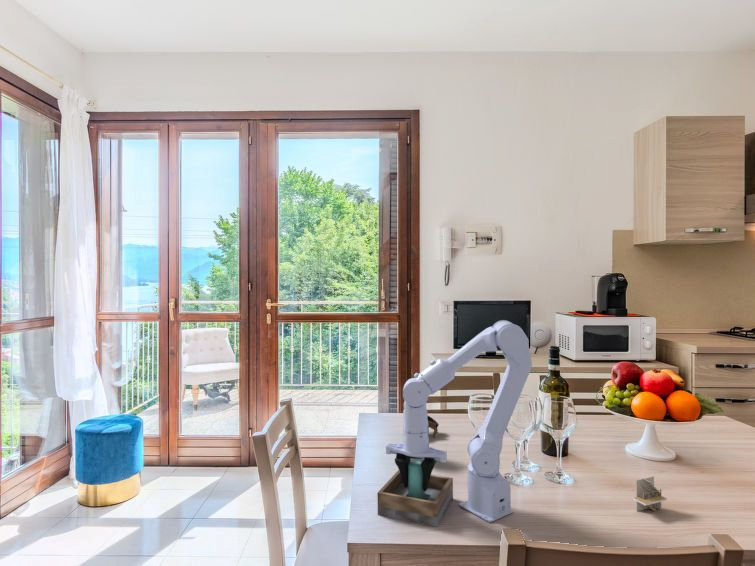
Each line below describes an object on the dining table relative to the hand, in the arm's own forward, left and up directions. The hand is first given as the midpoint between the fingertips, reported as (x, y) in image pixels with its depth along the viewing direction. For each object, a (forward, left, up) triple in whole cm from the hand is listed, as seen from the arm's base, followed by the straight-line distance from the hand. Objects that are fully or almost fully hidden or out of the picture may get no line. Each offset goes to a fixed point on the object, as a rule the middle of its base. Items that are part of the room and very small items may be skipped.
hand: (416, 487), depth 110 cm
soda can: (+22, -18, -5) cm, 29 cm away
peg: (0, 0, -3) cm, 3 cm away
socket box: (0, 0, -4) cm, 4 cm away
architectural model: (-33, -42, -5) cm, 54 cm away
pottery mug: (+37, -33, -5) cm, 50 cm away
